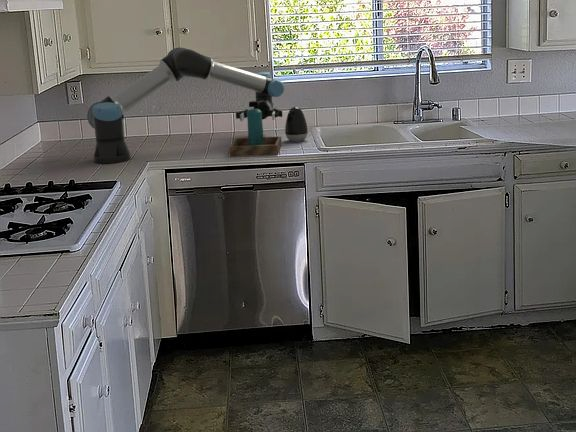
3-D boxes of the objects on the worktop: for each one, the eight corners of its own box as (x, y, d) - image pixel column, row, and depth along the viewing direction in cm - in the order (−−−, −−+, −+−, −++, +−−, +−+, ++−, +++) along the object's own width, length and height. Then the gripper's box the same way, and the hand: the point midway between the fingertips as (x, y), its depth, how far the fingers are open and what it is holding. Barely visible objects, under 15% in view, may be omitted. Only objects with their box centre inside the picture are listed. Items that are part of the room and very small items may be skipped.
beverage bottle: (262, 149, 361) (260, 102, 356) (247, 150, 362) (244, 102, 357) (265, 146, 367) (263, 100, 362) (250, 147, 369) (247, 100, 363)
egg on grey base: (282, 143, 380) (280, 108, 376) (289, 138, 389) (287, 105, 385) (304, 143, 377) (302, 108, 373) (311, 138, 386) (309, 104, 382)
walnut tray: (229, 156, 356) (229, 147, 355) (235, 147, 376) (235, 138, 374) (278, 154, 355) (277, 145, 354) (281, 145, 374) (281, 136, 373)
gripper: (290, 117, 387) (286, 125, 367) (235, 119, 389) (228, 127, 369) (289, 100, 385) (285, 107, 365) (234, 102, 387) (227, 110, 367)
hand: (257, 117), depth 367 cm, fingers open, 13 cm apart
